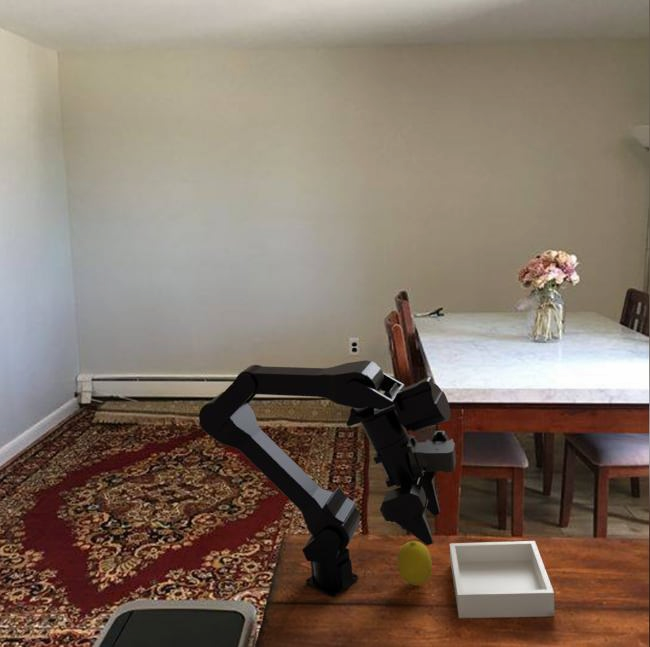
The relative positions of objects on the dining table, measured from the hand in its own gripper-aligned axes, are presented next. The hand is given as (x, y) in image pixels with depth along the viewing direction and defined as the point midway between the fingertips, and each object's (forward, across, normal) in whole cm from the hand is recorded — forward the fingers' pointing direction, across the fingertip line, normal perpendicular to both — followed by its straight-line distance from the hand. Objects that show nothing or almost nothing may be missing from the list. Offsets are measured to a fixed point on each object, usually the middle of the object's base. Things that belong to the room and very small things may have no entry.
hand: (433, 528), depth 108 cm
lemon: (+10, +3, +8) cm, 13 cm away
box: (+14, +4, -4) cm, 15 cm away
